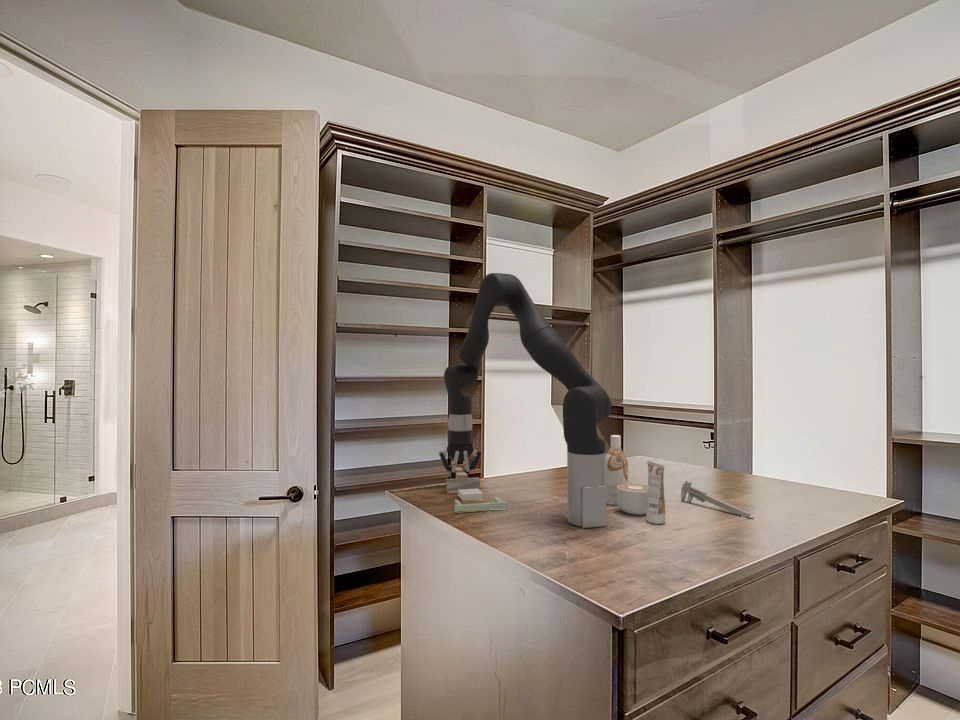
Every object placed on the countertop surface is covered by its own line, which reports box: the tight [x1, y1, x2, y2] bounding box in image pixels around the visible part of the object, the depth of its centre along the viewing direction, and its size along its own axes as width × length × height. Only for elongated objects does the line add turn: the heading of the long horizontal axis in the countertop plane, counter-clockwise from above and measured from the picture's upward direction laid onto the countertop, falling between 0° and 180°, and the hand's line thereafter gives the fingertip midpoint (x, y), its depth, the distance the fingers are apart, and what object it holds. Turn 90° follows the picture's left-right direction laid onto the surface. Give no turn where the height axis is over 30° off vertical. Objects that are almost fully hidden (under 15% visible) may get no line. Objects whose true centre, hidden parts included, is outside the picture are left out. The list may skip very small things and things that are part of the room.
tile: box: [457, 489, 484, 500], centre depth 149 cm, size 6×6×2 cm
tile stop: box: [454, 496, 508, 513], centre depth 139 cm, size 6×14×2 cm, turn 103°
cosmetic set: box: [605, 434, 666, 525], centre depth 136 cm, size 25×9×19 cm, turn 16°
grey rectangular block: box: [445, 466, 481, 493], centre depth 163 cm, size 13×10×5 cm
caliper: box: [680, 480, 755, 519], centre depth 138 cm, size 20×1×6 cm, turn 34°
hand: (459, 483), depth 163 cm, fingers closed on grey rectangular block, 3 cm apart
